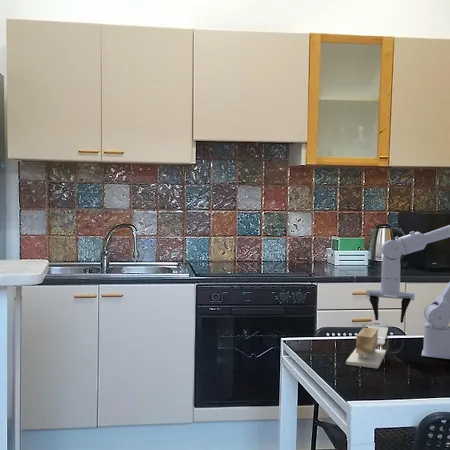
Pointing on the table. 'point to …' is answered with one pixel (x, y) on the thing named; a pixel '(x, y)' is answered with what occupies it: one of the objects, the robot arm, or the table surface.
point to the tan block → (366, 340)
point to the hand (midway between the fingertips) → (389, 320)
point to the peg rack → (366, 359)
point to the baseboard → (380, 333)
